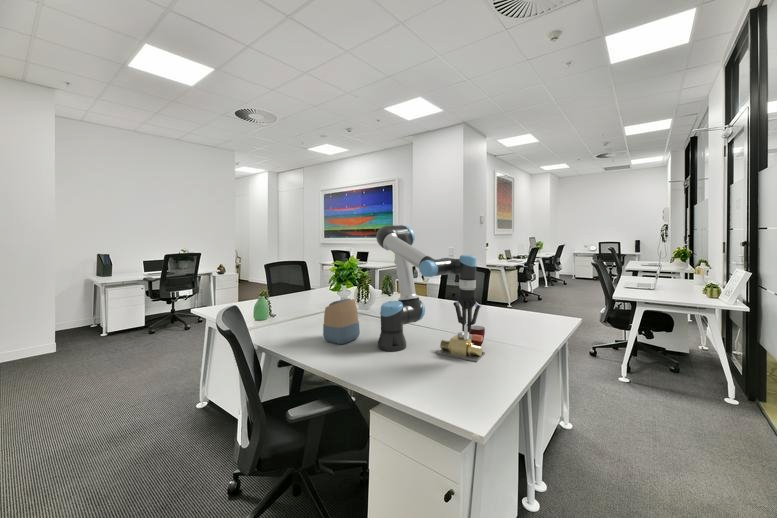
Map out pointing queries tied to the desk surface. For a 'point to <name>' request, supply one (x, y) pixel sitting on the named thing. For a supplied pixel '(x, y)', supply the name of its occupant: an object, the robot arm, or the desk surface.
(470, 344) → the valve block
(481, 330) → the mug
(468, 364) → the desk surface
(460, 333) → the lever
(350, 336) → the two-tone tapered canister
